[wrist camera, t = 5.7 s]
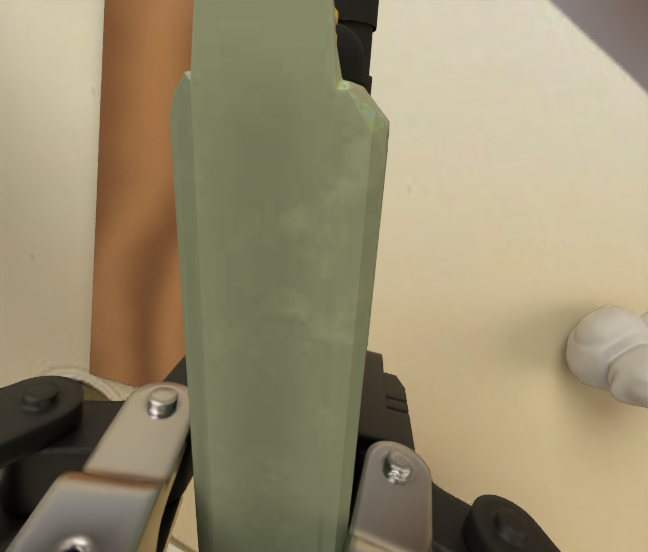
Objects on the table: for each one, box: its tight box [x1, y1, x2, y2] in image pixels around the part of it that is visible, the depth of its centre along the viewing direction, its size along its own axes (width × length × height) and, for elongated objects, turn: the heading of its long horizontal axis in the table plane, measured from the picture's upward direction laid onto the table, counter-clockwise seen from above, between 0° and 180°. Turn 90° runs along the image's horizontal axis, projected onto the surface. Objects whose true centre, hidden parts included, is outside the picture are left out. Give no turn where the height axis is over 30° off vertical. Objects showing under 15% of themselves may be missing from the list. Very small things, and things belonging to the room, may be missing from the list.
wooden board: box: [90, 0, 194, 388], centre depth 25 cm, size 11×30×1 cm, turn 166°
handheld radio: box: [169, 0, 389, 552], centre depth 9 cm, size 7×3×25 cm
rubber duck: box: [566, 305, 648, 408], centre depth 21 cm, size 5×7×8 cm
